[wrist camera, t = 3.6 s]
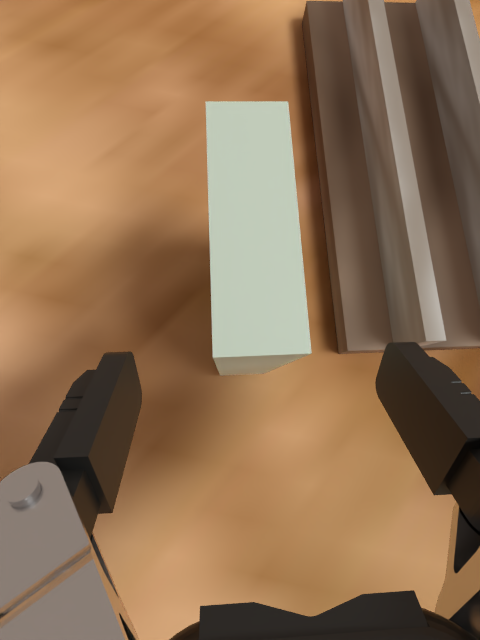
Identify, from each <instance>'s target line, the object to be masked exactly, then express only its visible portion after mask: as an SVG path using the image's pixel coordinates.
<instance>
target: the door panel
mask: <svg viewBox="0 0 480 640" xmlns="http://www.w3.org/2000/svg"><path fill="white" fill-rule="evenodd" d="M206 129H207V166H208V203H209V239H210V276H211V313H212V350H213V360H214V362H215V364H216V367H217V369H218V372H219V374H220V376H225V375H247V374H264V373H267V372H269V371H271V370H274V369H276V368H278V367H281V366H283V365H285V364H288V363H290V362H293V361H295V360H297V359H300V358H302V357H304V356H307V355H309V354H311V343H310V333H309V322H308V311H307V300H306V290H305V279H304V268H303V257H302V246H301V236H300V225H299V214H298V203H297V193H296V182H295V171H294V160H293V150H292V139H291V128H290V117H289V107H288V102H206Z"/></svg>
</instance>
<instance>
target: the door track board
mask: <svg viewBox="0 0 480 640" xmlns="http://www.w3.org/2000/svg"><path fill="white" fill-rule="evenodd" d="M302 28H303V37H304V46H305V55H306V64H307V73H308V82H309V91H310V100H311V109H312V118H313V127H314V136H315V145H316V154H317V163H318V172H319V181H320V190H321V199H322V208H323V217H324V226H325V235H326V244H327V253H328V262H329V271H330V280H331V289H332V298H333V307H334V316H335V325H336V334H337V343H338V352H339V354H348V353H372V352H384V351H385V348H386V346H387V344H388V343H393V342H416V343H417V344H418V345H419V346H420V347H421V348H422V349H423V350H445V349H469V348H480V39H479V36H478V32H477V28H476V24H475V20H474V16H473V12H472V9H471V5H470V1H469V0H417V1H416V3H392V2H384V0H343V2H332V1H307V2H306V7H305V12H304V17H303V21H302Z"/></svg>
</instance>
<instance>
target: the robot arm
mask: <svg viewBox="0 0 480 640" xmlns="http://www.w3.org/2000/svg"><path fill="white" fill-rule="evenodd" d="M376 391H377V395H378V397H379V399H380V401H381V403H382V404H383V406H384V408H385V410H386V412H387V413H388V415H389V417H390V419H391V420H392V422H393V424H394V426H395V427H396V429H397V431H398V433H399V434H400V436H401V438H402V440H403V441H404V443H405V445H406V447H407V449H408V450H409V452H410V454H411V456H412V457H413V459H414V461H415V463H416V464H417V466H418V468H419V470H420V471H421V473H422V475H423V477H424V478H425V480H426V482H427V484H428V486H429V487H430V489H431V491H432V493H433V494H434V495H445V494H452V495H453V497H454V499H455V500H456V504H455V506H454V508H453V513H452V522H451V531H450V540H449V550H448V559H447V568H446V576H445V581H444V584H443V587H442V590H441V592H440V594H439V597H438V600H437V604H436V608H435V613H434V612H431V611H429V610H426V609H423V608H421V607H420V604H419V602H418V599H417V597H416V594H415V592H414V591H400V592H387V593H373V594H362V595H360V596H358V597H356V598H353V599H351V600H349V601H347V602H345V603H343V604H341V605H338V606H336V607H334V608H332V609H330V610H328V611H326V612H323V613H321V614H319V615H317V616H312V617H309V616H304V615H300V614H296V613H293V612H289V611H285V610H281V609H277V608H274V607H270V606H266V605H262V604H259V603H255V602H250V603H237V604H223V605H209V606H200V621H199V622H197V623H194V624H192V625H190V626H188V627H187V628H185V629H183V630H182V631H180V632H179V633H177V634H176V635H174V636H173V637H172V638H171V639H170V640H480V401H479V399H478V398H477V397H476V396H475V395H474V394H471V391H470V390H469V389H468V387H467V386H466V385H465V384H464V383H461V380H460V379H459V378H458V377H457V375H456V374H455V373H454V372H453V371H452V370H451V369H450V368H449V367H447V366H446V365H444V364H443V363H441V362H440V361H438V360H437V359H435V358H434V357H429V356H428V355H427V354H426V353H425V351H424V350H423V349H422V348H421V347H420V346H419V345H418V344H417V343H416V342H393V343H388V344H387V346H386V348H385V351H384V354H383V357H382V360H381V364H380V367H379V370H378V374H377V377H376ZM141 402H142V390H141V385H140V381H139V377H138V372H137V368H136V364H135V360H134V356H133V354H132V352H109V353H105V354H104V355H103V357H102V359H101V361H100V363H99V365H98V367H97V369H96V370H87V371H86V372H85V373H83V374H82V375H81V376H80V377H79V378H78V379H77V380H76V381H75V382H74V383H73V384H72V386H71V388H70V390H69V392H68V393H67V395H66V399H65V400H64V401H63V403H62V404H61V406H60V408H59V412H57V414H56V415H55V417H54V419H53V421H52V423H51V425H50V426H49V428H48V430H47V432H46V434H45V436H44V437H43V439H42V441H41V443H40V445H39V447H38V448H37V450H36V452H35V454H34V456H33V458H32V459H31V461H30V463H29V464H28V465H25V466H23V467H21V468H18V469H17V470H15V471H13V472H12V473H10V474H9V475H8V476H6V477H5V478H4V479H3V480H2V481H1V482H0V640H139V638H138V636H137V633H136V631H135V629H134V626H133V624H132V622H131V620H130V618H129V616H128V614H127V611H126V609H125V607H124V605H123V603H122V600H121V598H120V596H119V593H118V591H117V589H116V586H115V584H114V581H113V579H112V577H111V574H110V572H109V570H108V567H107V565H106V562H105V560H104V558H103V555H102V553H101V550H100V548H99V546H98V543H97V541H96V539H95V536H94V534H93V532H92V531H93V528H94V524H95V521H96V518H97V515H98V514H102V513H112V512H113V509H114V505H115V501H116V497H117V494H118V490H119V486H120V483H121V479H122V475H123V471H124V468H125V464H126V460H127V457H128V453H129V449H130V445H131V442H132V438H133V434H134V431H135V427H136V423H137V419H138V416H139V412H140V408H141Z"/></svg>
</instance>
